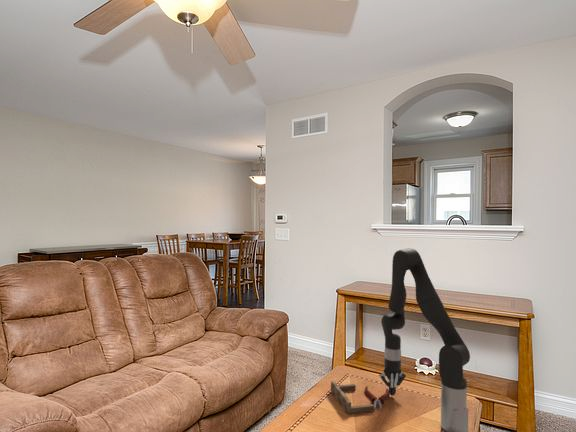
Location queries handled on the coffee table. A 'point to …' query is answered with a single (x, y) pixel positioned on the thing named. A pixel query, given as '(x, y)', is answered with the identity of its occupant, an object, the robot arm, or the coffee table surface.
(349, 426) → the coffee table surface
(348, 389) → the tool rest
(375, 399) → the pliers
